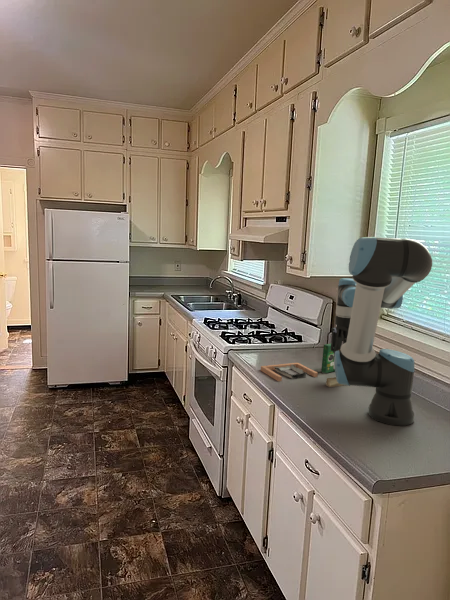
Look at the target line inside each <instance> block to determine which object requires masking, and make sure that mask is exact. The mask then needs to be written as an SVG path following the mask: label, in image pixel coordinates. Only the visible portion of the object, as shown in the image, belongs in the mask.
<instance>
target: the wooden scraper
mask: <svg viewBox="0 0 450 600" xmlns="http://www.w3.org/2000/svg"><path fill="white" fill-rule="evenodd" d="M340 350H341V349H340ZM340 350H339V351H340ZM325 381H326V383H325V385H326V386H327V387H329V388H333V387H341V386H344V385H342V384H339V383H338V382H337V380H336V376H335V377H328V378H327V377H326V380H325Z"/></svg>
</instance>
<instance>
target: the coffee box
mask: <svg viewBox="0 0 450 600" xmlns="http://www.w3.org/2000/svg"><path fill="white" fill-rule="evenodd" d="M321 360H322V361H321V369H320V370H321V371H320V372H321V373H323V374H329V373H331V372H332V373H333V372H335V369H333V367H334V353H333V351H331V343H325V344H323V350H322V359H321Z"/></svg>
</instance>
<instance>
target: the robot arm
mask: <svg viewBox="0 0 450 600" xmlns="http://www.w3.org/2000/svg"><path fill="white" fill-rule="evenodd" d="M432 267H433V258H432V255H431V253H430V251H429V250H428V248H427V247H426V246H425V245H424V244H423V243H421V242H420V241H417V240H416V239H411V238H399V237H398V238H396V237H379V236H378V237H376V236H365V237H364V236H363V237H362V236H361V237H359V238H358V239H356V241H355V242H354V243H353V246H352V249H351V251H350V255H349V263H348V273H349V274H350V275H352V278H349V277H346V278H345V277H343V278H339V280H338V285H337V287H338V288H337V289H338V290H337V299H336V309H335V314H336V316H335V321H334V323H335V325H336V327H332V328H331V329H330V331H331V340H330V344H331V351H333V353H334V367H333V369H335V371H334V373H335V377H336V380H337V382H338V383H339V384H342V385H343V386H349V387H351V386H354V387H355V386H356V387H367V388H375V392H374V395H373V397H372V399H371V402H370V404H369V405H368V411H367V415H368V417H371V418H372V419H373V420H375V421H378V422H380V423H383V424H386V425H392V426H400V427H401V426H409V425H411V424H412V425H413V423H414V422H415V421H414V420H415V412H414V410H413V404H412V390H413V381H414V373H415V359H414V358H413V357H412V356H411V355H409V354H408V353H404V352H401V351H398V350H394V349H389V348H380V350H379V352H378V353H377V352H376V351H375V349H374V347H373V346H374V341H375V336H376V332H377V326H378V322H379V318H380V312H381V308H382V309H399V308H401V307H402V304H403V302H404V301H403V300H404V294H405V293H407V292H408V291H409V290H410V289H411V287H413V286H414V285H415V284H416V283H417V284H418V283H420V282H422V281H423V280H424V279H425V278H426V277H428V276H429V274H430V273H431V271H432ZM340 349H341V350H340ZM339 350H340V351H339Z"/></svg>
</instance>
